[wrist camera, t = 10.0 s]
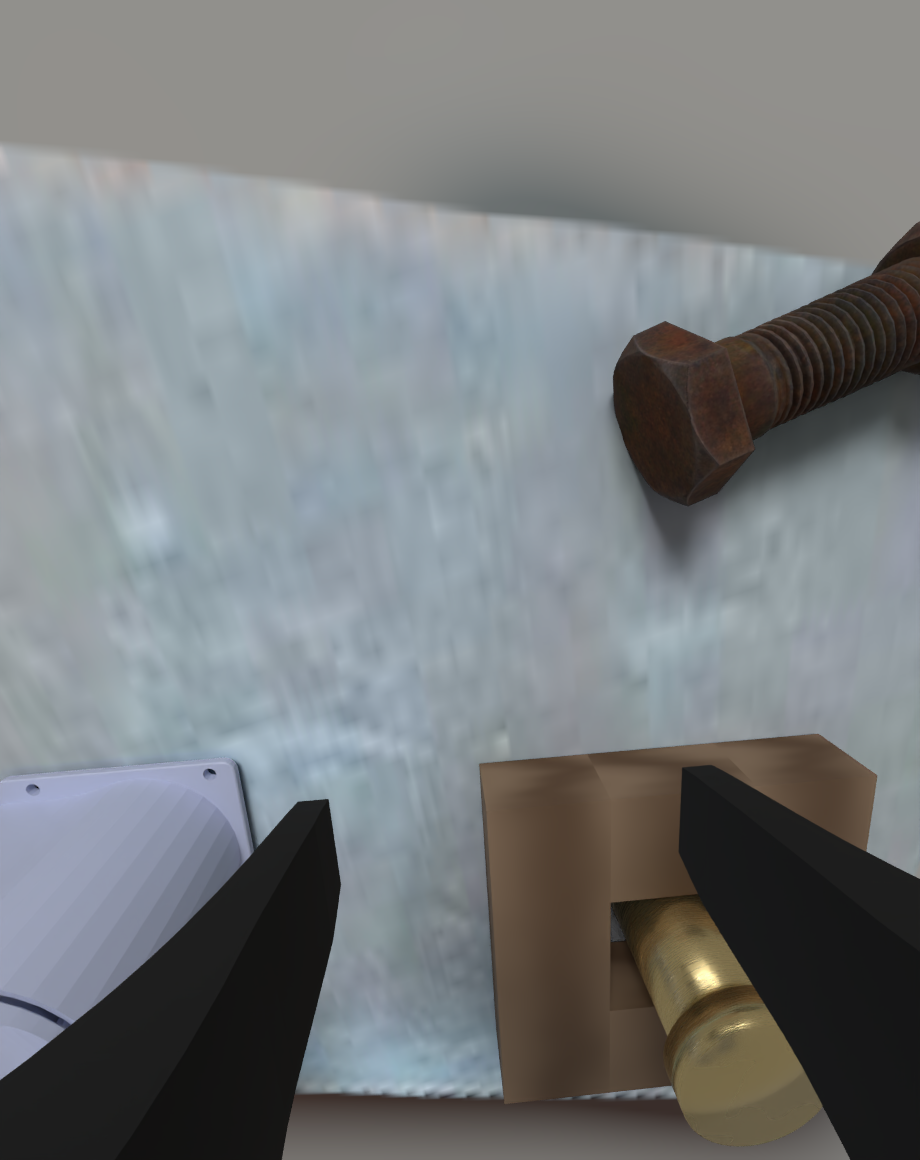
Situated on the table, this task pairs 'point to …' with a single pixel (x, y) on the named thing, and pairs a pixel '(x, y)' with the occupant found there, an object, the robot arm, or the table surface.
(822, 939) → the robot arm
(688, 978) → the brass pin
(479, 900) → the table surface
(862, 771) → the socket plate
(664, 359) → the bolt
